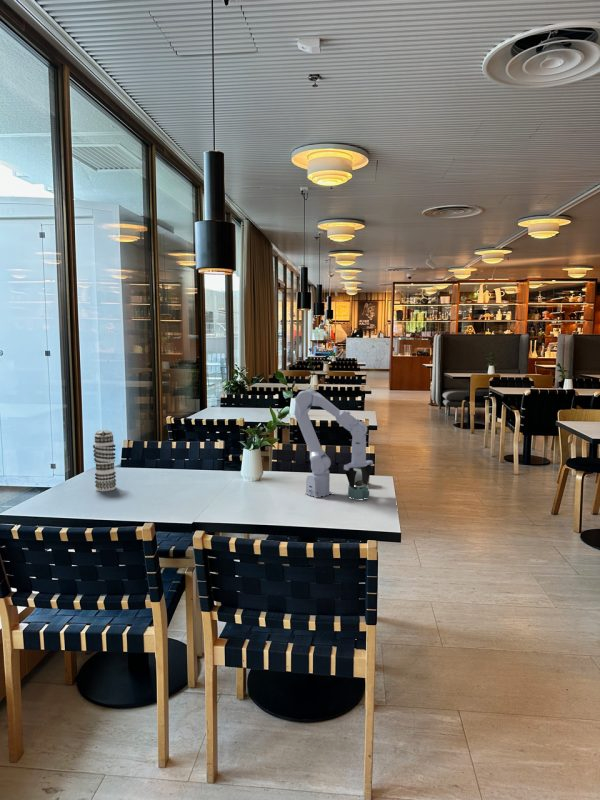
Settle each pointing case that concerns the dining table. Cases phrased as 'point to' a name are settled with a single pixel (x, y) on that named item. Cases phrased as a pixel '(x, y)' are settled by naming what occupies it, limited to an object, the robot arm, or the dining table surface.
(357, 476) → the ceramic mug
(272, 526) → the dining table surface
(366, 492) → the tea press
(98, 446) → the white tiered cylinder
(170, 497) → the dining table surface
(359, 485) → the black and white knob
